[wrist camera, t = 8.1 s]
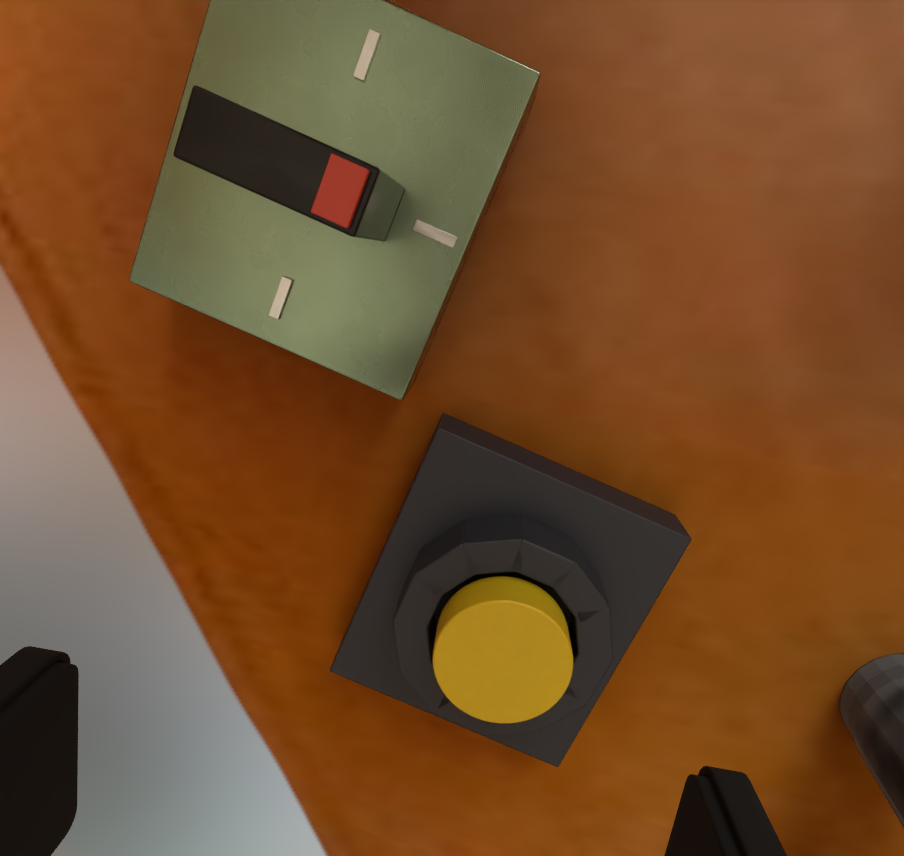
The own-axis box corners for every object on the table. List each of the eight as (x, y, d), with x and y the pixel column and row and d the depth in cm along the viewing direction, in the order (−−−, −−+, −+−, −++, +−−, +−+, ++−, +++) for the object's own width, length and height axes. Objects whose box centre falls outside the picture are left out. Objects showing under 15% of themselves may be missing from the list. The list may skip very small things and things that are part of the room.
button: (468, 554, 22) (466, 578, 21) (591, 607, 23) (598, 635, 21) (417, 661, 24) (410, 692, 22) (533, 710, 24) (536, 744, 22)
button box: (443, 412, 25) (431, 443, 21) (676, 514, 26) (711, 566, 21) (342, 639, 28) (313, 708, 24) (553, 728, 29) (563, 812, 24)
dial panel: (265, -29, 22) (227, -75, 19) (536, 96, 22) (541, 70, 19) (170, 278, 25) (124, 281, 22) (413, 385, 25) (400, 402, 22)
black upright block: (239, 177, 21) (166, 154, 16) (257, 120, 20) (187, 80, 16) (384, 242, 21) (352, 237, 16) (405, 187, 21) (378, 167, 16)
